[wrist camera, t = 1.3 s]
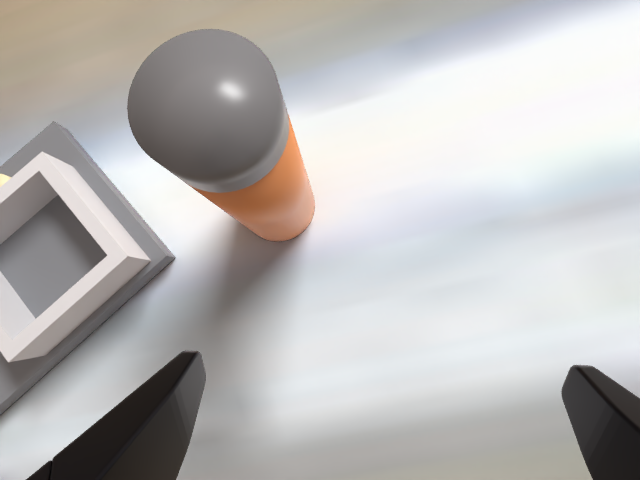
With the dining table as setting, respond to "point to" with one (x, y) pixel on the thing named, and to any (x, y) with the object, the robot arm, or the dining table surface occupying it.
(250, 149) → the capped spray can
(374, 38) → the dining table surface
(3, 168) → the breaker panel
